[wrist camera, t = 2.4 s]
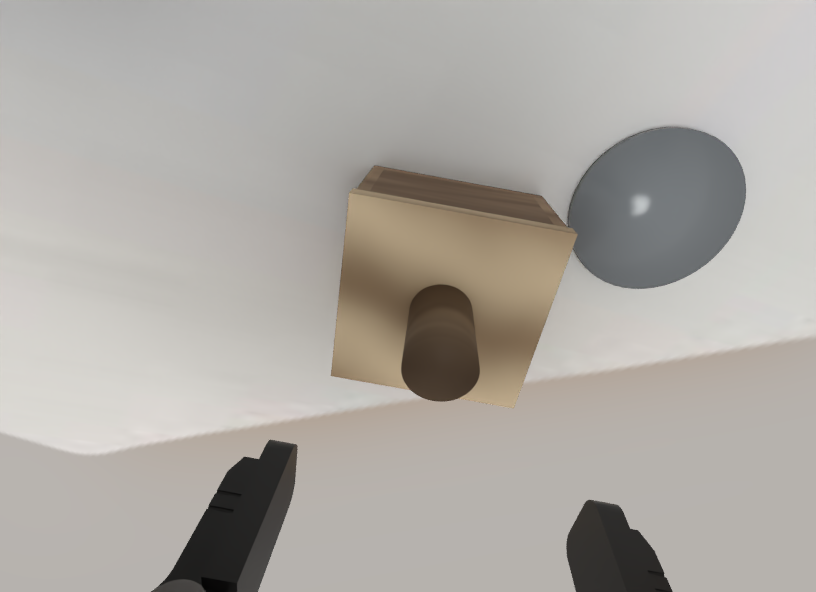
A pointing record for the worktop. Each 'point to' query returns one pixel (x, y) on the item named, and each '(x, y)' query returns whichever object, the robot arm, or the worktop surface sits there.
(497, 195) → the tea box
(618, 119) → the worktop surface
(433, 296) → the lid
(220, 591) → the robot arm
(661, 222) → the coaster
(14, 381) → the worktop surface
